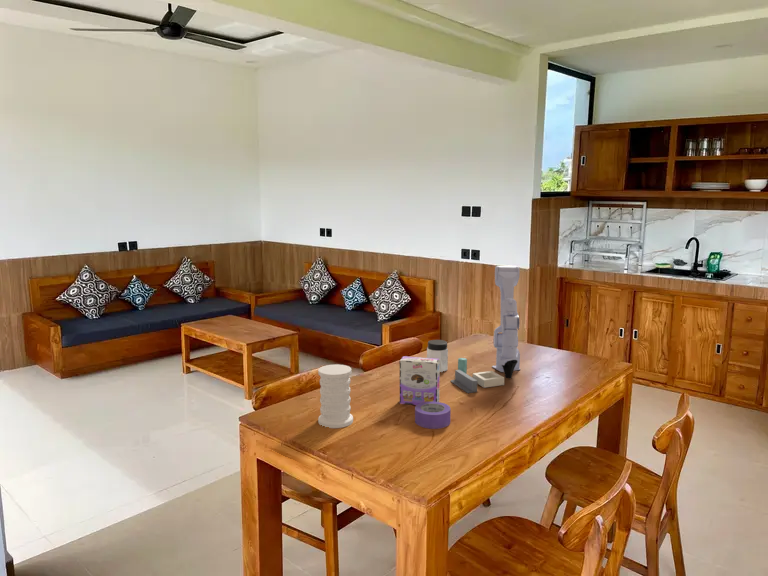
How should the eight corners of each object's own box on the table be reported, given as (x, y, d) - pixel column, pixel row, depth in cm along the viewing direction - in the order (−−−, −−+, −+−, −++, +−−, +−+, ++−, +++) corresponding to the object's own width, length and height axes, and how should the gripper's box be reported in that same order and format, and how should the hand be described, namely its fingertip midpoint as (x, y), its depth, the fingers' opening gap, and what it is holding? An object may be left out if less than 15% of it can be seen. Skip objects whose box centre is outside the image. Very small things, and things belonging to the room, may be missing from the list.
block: (491, 377, 240) (492, 370, 239) (504, 384, 231) (504, 377, 231) (472, 380, 236) (472, 373, 236) (484, 387, 228) (484, 380, 228)
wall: (459, 380, 237) (459, 369, 236) (477, 391, 224) (477, 380, 223) (450, 381, 236) (450, 370, 235) (467, 393, 223) (468, 381, 222)
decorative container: (341, 430, 189) (341, 377, 186) (311, 424, 195) (310, 372, 191) (359, 418, 200) (358, 367, 196) (330, 412, 205) (329, 362, 202)
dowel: (463, 373, 245) (464, 357, 244) (468, 376, 242) (468, 359, 241) (456, 374, 244) (456, 358, 243) (460, 377, 241) (460, 360, 240)
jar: (437, 374, 245) (437, 346, 243) (422, 369, 251) (423, 342, 249) (451, 369, 251) (451, 342, 249) (436, 365, 257) (437, 338, 255)
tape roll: (408, 424, 195) (408, 409, 194) (424, 412, 205) (425, 398, 204) (441, 432, 189) (441, 417, 188) (456, 419, 199) (456, 405, 198)
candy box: (439, 401, 214) (440, 358, 212) (436, 407, 209) (437, 362, 206) (402, 398, 218) (403, 355, 215) (398, 403, 213) (399, 359, 210)
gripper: (507, 339, 243) (506, 371, 245) (492, 347, 231) (491, 380, 234) (524, 342, 239) (522, 374, 241) (509, 350, 227) (508, 384, 230)
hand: (508, 377), depth 237 cm, fingers closed
